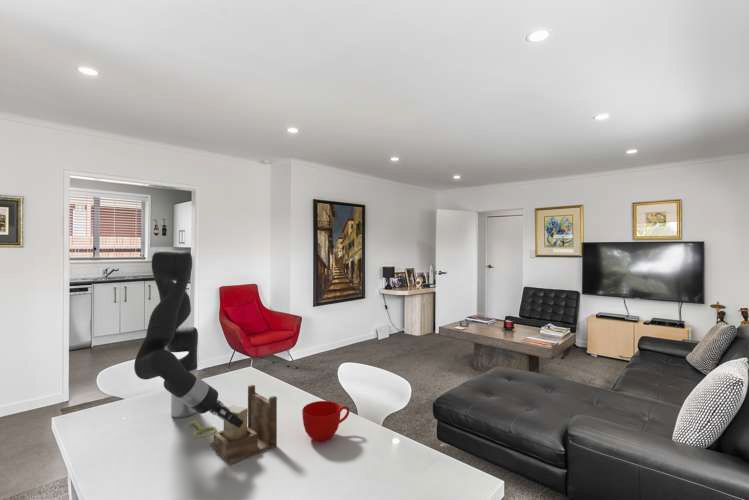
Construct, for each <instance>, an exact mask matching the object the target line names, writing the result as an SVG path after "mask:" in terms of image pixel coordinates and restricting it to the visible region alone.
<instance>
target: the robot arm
mask: <svg viewBox="0 0 749 500" xmlns="http://www.w3.org/2000/svg"><path fill="white" fill-rule="evenodd" d="M151 270H152V276H153V278H154V281H155V284H156V288H157V291H158V296H159V303H158V304H157V305H156V306H155V308H154V309H152V310H153V311H151V314H150V316H149V321H148V325H147V330H146V335H145V338H144V340H143V341H142V344H141V346H140V348H139V350H138V353H137V354H136V357H135V360H134V364H133V365H134V366H133V368H134V373H135V375H136V376H137V377H138V378H139V379H142V380H151V379H155V378H158V377H160V378H161V379H163V380H164V381H163V387H164V389H165V390H167V392H169V393H170V394H171V395H170V401H171V402H170V404H171V405H170V407H171V408H170V414H171V417H173V418H177V419H178V418H186V417H189V416H192V415H194V414H196V413H198V414H205V413H207V412H209V413H211V414H212V415H213V416H217V417H218V418H219V419H221V420H222V421H224V419H225V420H227V421H228V422H229V423H230V424H234V425H235V426H236V427H238V428H240V427H241V425H242V424H243V421H242V420H241V419H239V418H238V417H237V415H235V414H233V413H232V412H230V411H231V410H230V409H229V408H228V407H229V406H228V407H227V406H226V405H225V404H224V403H223V402H222V401H221V400H219V399H218V398H219V392H218V390H217V389H215V388H214V387H213V386H211V385H210V384H208V382H205V380H203V379H201V378H199V377H198V345H199V344H198V343H199V332H198V328H196V327H193V326H190V327H189V326H188V327H180V326H182V325H183V323H185V322H186V320H187V319H188V318H189V316H190V314H191V310H192V307H191V299H190V296H189V294H188V293H187V286H188V284H189V280H190V277H191V273H192V270H193V257H192V253H190V251H186V250H185V251H184V250H173V249H172V250H171V249H159V250H156V251H154V253H153V255H152V257H151ZM174 280H175V281H174ZM165 348H167V349H165ZM185 352H188V353H187V354H186V355H184V356H183V357H180V358H178V357H177V355H175V354H174V353H185ZM230 415H232V416H231V417H230ZM229 417H230V419H228V418H229Z"/></svg>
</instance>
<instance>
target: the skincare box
mask: <svg viewBox="0 0 749 500" xmlns="http://www.w3.org/2000/svg"><path fill="white" fill-rule="evenodd" d="M228 408H229V409H230V410H231V411H230V412H232V413H233V414H235V415H237V417H238V418H239V419H241V420H242V421H243V424H242V425H241V427H240V428H238V427H236V426H235V425H234V424H230V423H229V422H228V421H227V420H225V419H224V420H223V430H222V431H223V438H225V439H226V440H227V441H228V442H231V441H234V440H237V439H239V438H242V437H245V436H247V427H248V407H244V406H240V405H239V406H238V405H235V404H232V405H230V406H228ZM231 416H232V415H230V417H231ZM230 417H229V418H228V419H230Z"/></svg>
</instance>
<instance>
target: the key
mask: <svg viewBox="0 0 749 500" xmlns="http://www.w3.org/2000/svg"><path fill="white" fill-rule="evenodd" d="M188 424H189V426H193V425H195V427H197V429H198V430H197V431H195V432H194V434H193V438H195V439H202V438H207V437H210V436H212V435H214V433H217V428H216V427H215V426H208V427H205V426H203V425H202V424H200V423H199V421H198V420H196V419H194V420H193V421H190V422H188ZM207 431H208V432H209V431H211V432H209V433H207V434H204V435H203V434H202V433H205V432H207ZM199 434H202V435H199Z"/></svg>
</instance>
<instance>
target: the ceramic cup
mask: <svg viewBox="0 0 749 500" xmlns="http://www.w3.org/2000/svg"><path fill="white" fill-rule="evenodd" d="M344 409H346V413H345V415H344V416H343V417H342V418H341V413H342V411H343V410H344ZM301 413H302V422H303V423H302V424H303V427H304V430H305V433H306V434H307V436H308V437H309V439H311V440H312V442H315V443H326V442H328V441H330V440H332V437H333V436H335V434H336V433H337V431H338V428H339V425H340V424H341V423H343V422H344V421H345V420H346V419H347V418H348V417H349V414H350V407H348V406H346V405H342V406H341V405H340V404H339V403H337V402H335V401H331V400H320V401H319V400H318V401H313V402H310V403H307V404H306V405H304V406H303V408H302V412H301Z"/></svg>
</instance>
